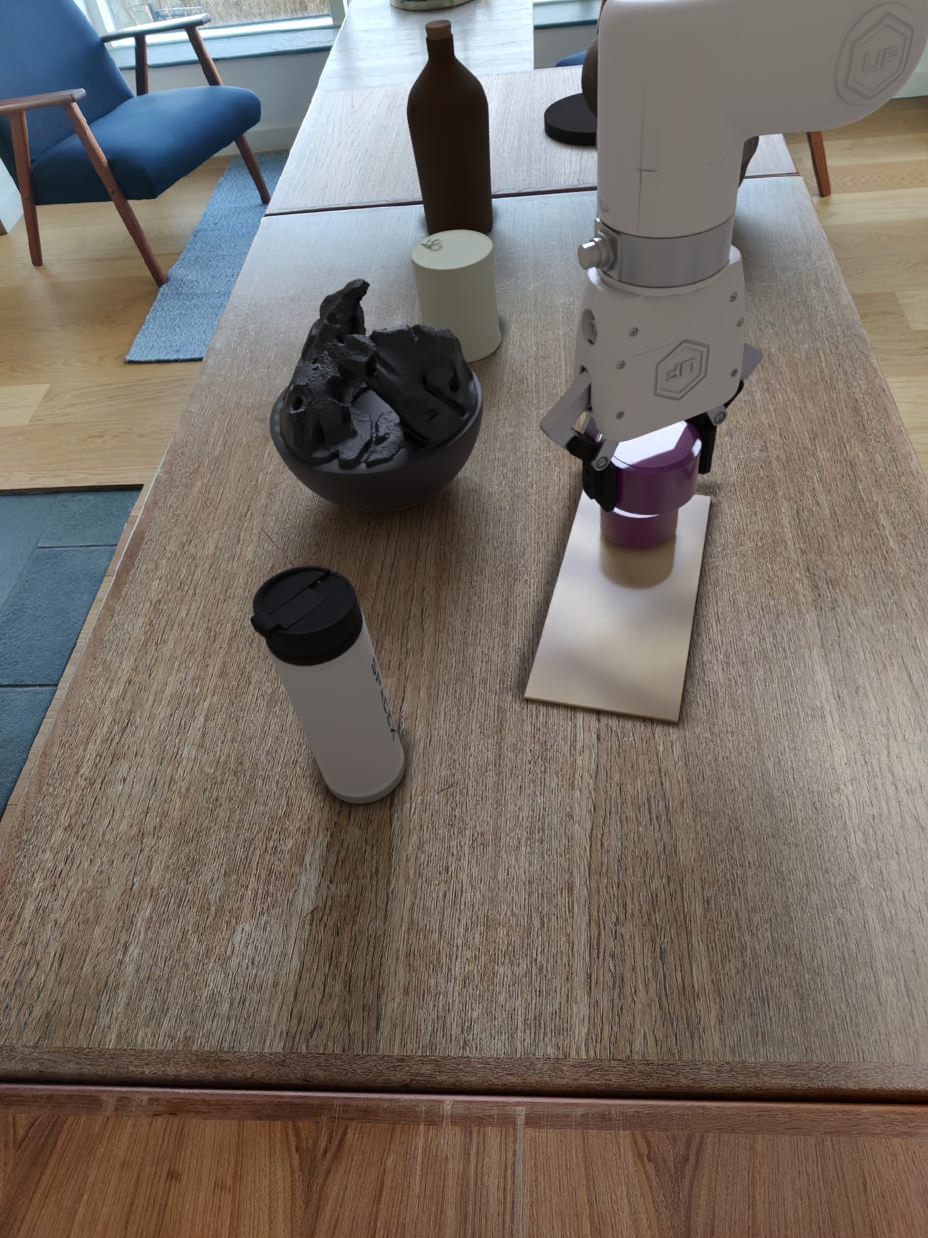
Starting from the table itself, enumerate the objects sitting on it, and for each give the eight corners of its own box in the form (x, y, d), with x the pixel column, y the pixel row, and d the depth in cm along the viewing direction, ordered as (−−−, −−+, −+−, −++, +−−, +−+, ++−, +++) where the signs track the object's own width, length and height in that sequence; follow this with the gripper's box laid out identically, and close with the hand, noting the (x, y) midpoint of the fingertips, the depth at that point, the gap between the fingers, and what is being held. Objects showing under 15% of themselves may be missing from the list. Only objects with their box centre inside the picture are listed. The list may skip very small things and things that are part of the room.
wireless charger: (536, 112, 151) (535, 99, 149) (639, 96, 151) (640, 83, 149) (554, 152, 139) (554, 139, 137) (666, 135, 139) (667, 121, 137)
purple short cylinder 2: (667, 498, 83) (670, 460, 80) (685, 550, 79) (689, 512, 75) (593, 508, 84) (593, 470, 80) (606, 560, 79) (607, 522, 76)
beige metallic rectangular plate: (584, 486, 86) (584, 483, 86) (710, 498, 83) (711, 496, 83) (524, 698, 70) (523, 696, 70) (677, 723, 67) (678, 721, 67)
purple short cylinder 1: (683, 455, 66) (688, 404, 63) (706, 517, 62) (713, 466, 58) (590, 467, 67) (590, 417, 63) (607, 529, 62) (608, 479, 59)
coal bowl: (449, 573, 80) (420, 399, 66) (260, 537, 86) (196, 370, 72) (517, 440, 92) (504, 268, 78) (346, 415, 98) (306, 252, 84)
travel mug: (305, 777, 68) (224, 602, 53) (367, 721, 71) (307, 540, 56) (359, 824, 65) (290, 652, 50) (422, 763, 67) (374, 584, 52)
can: (454, 314, 110) (442, 218, 101) (516, 332, 106) (509, 233, 97) (409, 352, 106) (392, 255, 97) (471, 371, 101) (460, 272, 92)
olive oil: (477, 249, 121) (456, 39, 102) (410, 240, 125) (378, 36, 106) (509, 214, 127) (496, 9, 108) (444, 206, 130) (420, 8, 112)
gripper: (558, 314, 46) (565, 556, 59) (833, 221, 50) (782, 469, 63) (497, 257, 51) (515, 493, 64) (751, 175, 54) (719, 415, 68)
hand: (647, 480), depth 63 cm, fingers closed on purple short cylinder 1, 7 cm apart
